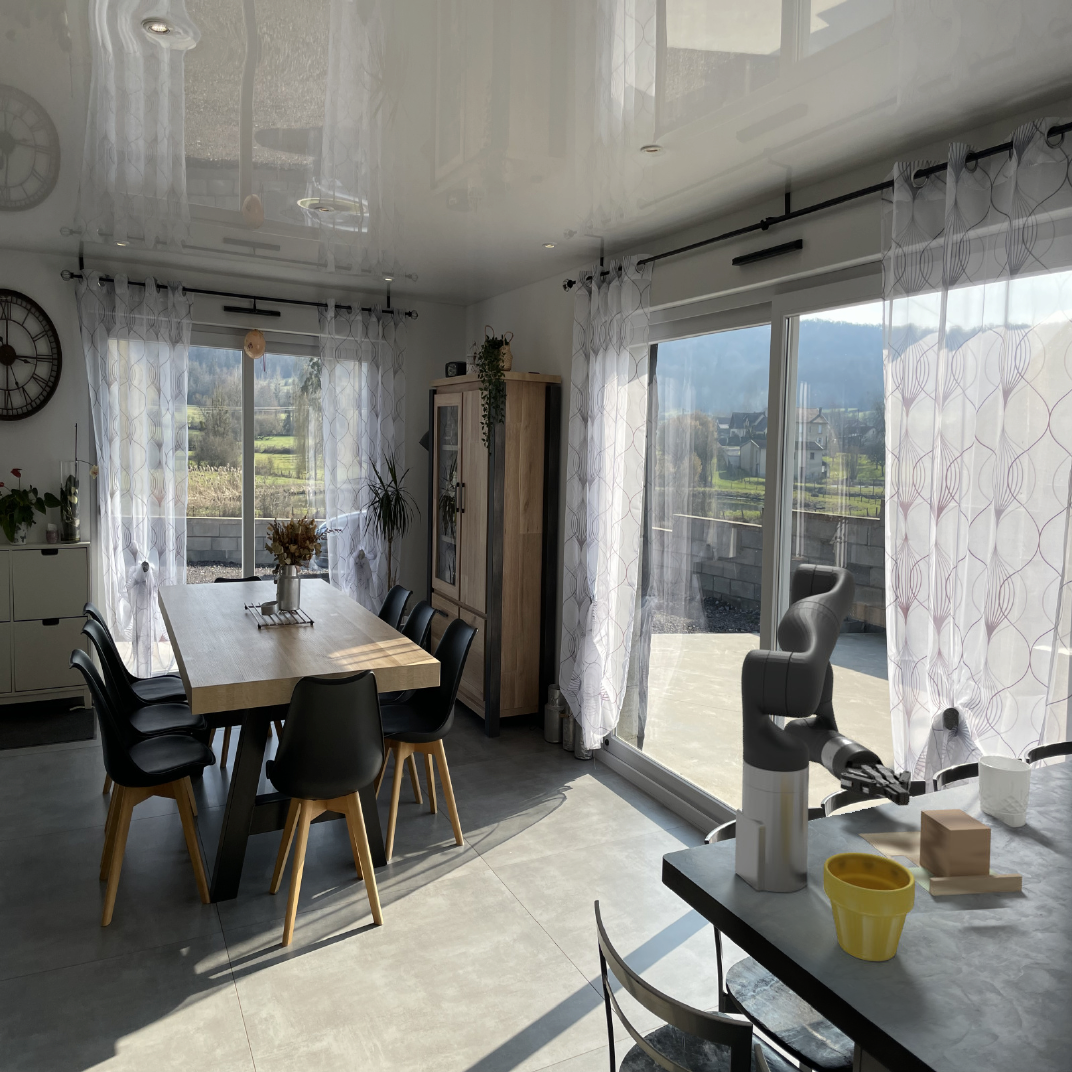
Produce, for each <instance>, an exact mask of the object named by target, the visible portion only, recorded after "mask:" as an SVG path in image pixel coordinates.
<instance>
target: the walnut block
mask: <svg viewBox="0 0 1072 1072" xmlns="http://www.w3.org/2000/svg"><path fill="white" fill-rule="evenodd" d="M919 831H920V865H922V866H923V867H924V868H925V869H927V870H928V871H929V872H931V873H932V874H933V875H934V876H936V877H937V878H940V877H961V876H981V875H990V869H991V847H992V846H991V845H992V844H991V842H992V828H991V827H990V826H988V825H986V824H985V823H983V822H981V821H980V820H979V819H976V818H975V817H974V816H971V815H970V814H968V813H966V812H964V810H962V809H960V808H953V809H952V808H951V809H949V808H948V809H932V810H931V809H930V810H929V809H927V810H925V809H924V810H921V811H920V830H919Z"/></svg>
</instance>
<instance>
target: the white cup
mask: <svg viewBox="0 0 1072 1072" xmlns="http://www.w3.org/2000/svg"><path fill="white" fill-rule="evenodd" d="M977 760H978V763H977V764H978V765H977V766H978V793H979V794H978V795H979V797H978V798H979V799H978V800H979V802H980V803H979V805H980V806H979V808H980V811H982V812H983V813H985V814H987V815H989V816H992V817H994V818H996V819H997V820H999V821H1001V822H1002V823H1004V824H1006V825H1007V826H1009V827H1011V828H1021V827H1023V826H1024V825H1026V820H1027V809H1028V805H1029V799H1030V798H1029V797H1030V787H1031V777H1032V765H1031V764H1030V763H1027V762H1026V761H1023V760H1020V759H1017V758H1013V757H1009V756H1002V755H1001V756H1000V755H982V756H980V757H978V759H977Z"/></svg>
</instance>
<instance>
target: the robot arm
mask: <svg viewBox="0 0 1072 1072" xmlns="http://www.w3.org/2000/svg"><path fill="white" fill-rule="evenodd" d="M790 587H791V588H790V607H789V608H788V609H787V610H786V612H785V613H784V615H783V617H782V618H781V620H780V623H779V625H778V627H777V633H776V639H777V644H778V646H779V648H780V650H769V649H757V648H756V649H751V650H750V651H748V652H747V654H745V657H744V659H743V662H742V667H741V679H740V681H741V682H740V687H741V689H740V692H741V709H742V711H741V712H742V715H741V716H742V783H741V786H742V787H741V788H742V789H741V791H742V792H741V808H738V809H736V811H735V845H734V846H735V849H734V850H735V851H734V852H735V861H734V864H735V865H734V873H735V874H737V875H738V876H740V878H741V879H742V880H744V881H745V882H746V883H748V885H749V886H751V887H752V888H753V889H754V890H755V891H769V892H775V893H793V892H796V891H800V890H801V889H803V888H804V887H805V886H806V885H807V883H808V842H809V841H808V838H809V837H808V835H809V833H808V832H809V831H808V830H809V787H810V786H809V784H810V780H809V779H810V762H812V763H816V764H820V765H821V766H822V767H823V768H824V769H826V770H827V771H828V772H829V774H831V775H832V776H833V777H834V778H835V779H837V781H839V782H840V789H841V790H844V791H845V790H846V791H849V792H853V793H857V794H859V795H864V796H867V797H871V798H876V797H877V796H879V797H881V798H883V799H888V800H889V801H890V802H892V803H894V804H896V805H897V806H900V807H901V806H909V803H910V797H911V796H910V795H911V794H910V788H911V786H912V785H911V781H912V772H911V771H910V770H904V771H902V772H899V773H895V771H894V770H893V769H892V768H890V767H886V766H885V764H884V763H883V761H882V759H881V758H880V756H879V755H877V754H876V753H875V752H873V751H872V750H870V749H869V748H867V747H865V746H864V745H862V744H861V743H859V742H857V741H855V740H853V739H851V738H848V737H847V736H846V735H843V734H842V733H840V732H839V729H838V724H837V721H836V718H835V711H834V706H833V695H834V693H833V692H834V670H833V666H832V664H831V661H830V659H831V657H832V654H833V652H834V650H835V647H836V646H837V645H836V644H837V642H838V639H839V636H840V632H841V629H842V625H843V621H844V620H845V619H846V617H847V615H848V614H849V612H850V610H851V608H852V606H853V602H854V598H855V595H856V582H855V578H854V575H853V573H852V572H851V571H850V570H848V569H846V568H843V567H841V566H831V565H824V564H822V565H821V564H812V563H811V564H810V563H801V564H799V565H798V566H797V567H796V568H795V570H794V572H793V576H792V580H791V586H790ZM770 716H774V717H775V716H776V717H783V718H791V719H792V720H789V722H787V723H786V724H785V726H784V728H781V727H780V726H778V725H777V724H776V723H775V722H774V721H773V719H772V718H771V717H770ZM811 716H814V717H811Z"/></svg>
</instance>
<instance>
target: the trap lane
mask: <svg viewBox="0 0 1072 1072" xmlns="http://www.w3.org/2000/svg"><path fill="white" fill-rule="evenodd" d="M920 831H921V830H919V831H916V830H915V831H894V832H875V833H874V832H871V833H858V835H859V836H860V837H861V838H863V839H864V841H866V842H867V843H869V844H870V845H871V846H872V847H874V848H875V850H877V851H878V852H879V853H881V854H882V855H883V857H885V858H888V859H891V860H893V861H896V862H898V861H897V860H896V859H895V858H893V857H901V856H903V857H905V858H907V859H908V860H909V861H911V862H912V863H913V864H914V865H915V866H917V867H906V868H907V869H908V870H909V871H910V872H911V873H912V874H913V876H914V878H915V883H916V884H918V885H919V886H920V887H922V889H924V890H925V891H926V892H928V893H929V894H930V895H932V896H934V897H935V896H948V895H949V896H951V895H966V894H970V895H971V894H985V893H986V894H987V893H1004V892H1007V893H1010V892H1022V891H1023V887H1022V886H1023V876H1022V875H1021V874H1020V873H1006V874H1003V873H1002V874H1001V873H1000V874H999V873H997V872H996V871H994V870H993V869H991V868H990V875H981V876H961V877H940V878H937V877H936V876H934V875H933V874H932V873H931V872H929V871H928V870H927V869H925V868H924V867H923V866H922V865H920ZM898 863H899V864H901V863H900V862H898Z"/></svg>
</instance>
